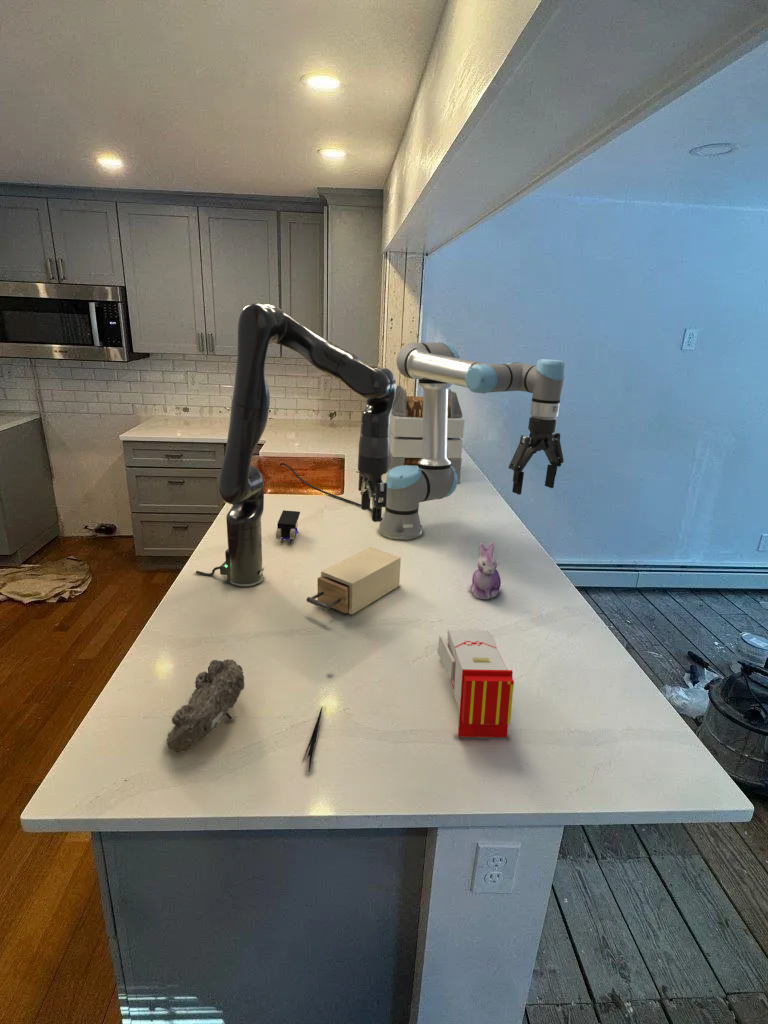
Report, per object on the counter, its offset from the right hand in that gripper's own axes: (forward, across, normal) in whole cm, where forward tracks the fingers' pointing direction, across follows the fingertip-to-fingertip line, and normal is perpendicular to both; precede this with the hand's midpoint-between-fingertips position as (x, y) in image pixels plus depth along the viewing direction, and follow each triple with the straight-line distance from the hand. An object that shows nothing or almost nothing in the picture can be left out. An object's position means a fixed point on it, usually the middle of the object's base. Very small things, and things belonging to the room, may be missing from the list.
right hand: (533, 490), depth 165 cm
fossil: (+27, -100, -16) cm, 105 cm away
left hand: (+1, -52, +7) cm, 52 cm away
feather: (+27, -83, -27) cm, 91 cm away
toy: (+27, -52, -35) cm, 69 cm away
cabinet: (+27, -50, +13) cm, 58 cm away
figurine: (+27, -19, -4) cm, 33 cm away
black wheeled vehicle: (+27, -51, +59) cm, 82 cm away
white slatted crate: (+27, +39, +104) cm, 114 cm away
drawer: (+26, -55, +11) cm, 62 cm away
